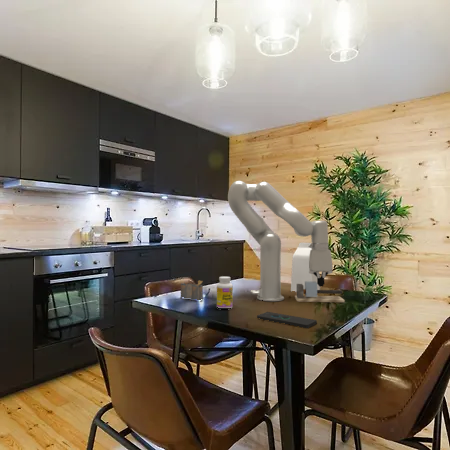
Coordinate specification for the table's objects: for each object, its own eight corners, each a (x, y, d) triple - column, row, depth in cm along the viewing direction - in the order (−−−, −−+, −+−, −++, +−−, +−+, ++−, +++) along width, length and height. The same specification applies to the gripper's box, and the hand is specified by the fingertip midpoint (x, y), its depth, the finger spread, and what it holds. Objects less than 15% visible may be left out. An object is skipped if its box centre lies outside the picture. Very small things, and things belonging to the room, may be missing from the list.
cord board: (297, 301, 154) (297, 286, 154) (295, 297, 162) (294, 283, 163) (344, 302, 152) (344, 286, 152) (339, 298, 161) (339, 283, 161)
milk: (290, 291, 180) (290, 242, 180) (299, 288, 189) (299, 242, 190) (312, 293, 173) (312, 243, 174) (320, 290, 183) (319, 242, 183)
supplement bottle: (221, 310, 135) (221, 278, 136) (214, 307, 141) (214, 276, 141) (235, 309, 138) (235, 277, 139) (228, 305, 144) (228, 275, 144)
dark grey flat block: (267, 311, 129) (317, 319, 117) (267, 315, 129) (317, 324, 117) (256, 315, 123) (307, 324, 111) (256, 320, 123) (307, 330, 111)
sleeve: (306, 296, 156) (306, 282, 156) (304, 295, 160) (304, 281, 160) (317, 296, 155) (317, 282, 155) (315, 295, 159) (315, 281, 159)
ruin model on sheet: (203, 301, 155) (203, 280, 155) (199, 302, 153) (199, 281, 153) (185, 298, 162) (185, 278, 162) (180, 299, 159) (180, 279, 159)
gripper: (304, 247, 154) (305, 287, 154) (338, 247, 153) (339, 287, 153) (302, 246, 162) (303, 285, 162) (334, 246, 161) (335, 284, 160)
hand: (320, 286), depth 157 cm, fingers closed
